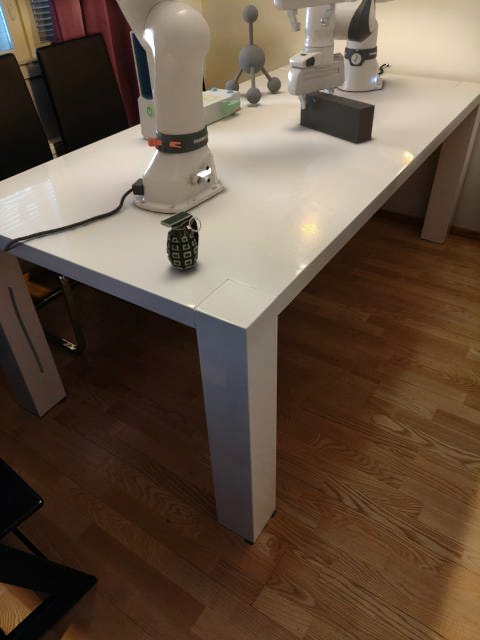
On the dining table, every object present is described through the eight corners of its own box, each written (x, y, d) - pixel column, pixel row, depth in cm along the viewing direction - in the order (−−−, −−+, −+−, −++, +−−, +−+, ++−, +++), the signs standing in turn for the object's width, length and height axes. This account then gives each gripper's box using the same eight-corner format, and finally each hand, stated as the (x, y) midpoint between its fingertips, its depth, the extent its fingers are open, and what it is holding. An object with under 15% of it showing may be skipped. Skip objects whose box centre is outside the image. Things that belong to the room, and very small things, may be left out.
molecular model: (299, 96, 185) (301, 2, 166) (252, 107, 175) (249, 9, 157) (262, 86, 200) (261, -1, 182) (217, 96, 191) (211, 5, 173)
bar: (371, 139, 143) (375, 105, 137) (357, 143, 140) (360, 109, 135) (313, 120, 160) (314, 89, 154) (300, 124, 157) (300, 93, 152)
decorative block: (204, 85, 179) (249, 90, 169) (206, 103, 183) (250, 109, 173) (156, 101, 163) (202, 108, 153) (159, 121, 167) (204, 129, 157)
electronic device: (141, 137, 154) (123, 28, 136) (159, 131, 158) (144, 24, 140) (166, 145, 147) (151, 30, 129) (185, 138, 151) (172, 26, 133)
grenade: (182, 278, 88) (175, 228, 82) (162, 268, 91) (153, 219, 85) (208, 263, 92) (203, 214, 85) (187, 253, 95) (181, 205, 89)
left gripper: (337, -45, 116) (333, 22, 125) (269, -39, 108) (269, 32, 116) (356, -45, 112) (351, 24, 121) (287, -40, 104) (286, 35, 112)
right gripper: (336, 50, 150) (333, 98, 159) (284, 59, 142) (284, 110, 150) (351, 52, 146) (347, 101, 154) (298, 62, 137) (297, 114, 146)
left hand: (310, 28), depth 118 cm, fingers open, 8 cm apart
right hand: (315, 106), depth 152 cm, fingers open, 8 cm apart
